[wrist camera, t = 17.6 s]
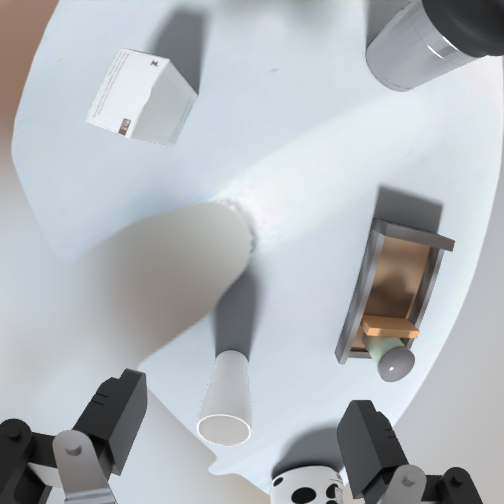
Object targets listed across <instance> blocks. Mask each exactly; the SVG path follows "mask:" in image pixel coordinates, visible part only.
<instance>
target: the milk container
mask: <svg viewBox="0 0 504 504" xmlns="http://www.w3.org/2000/svg"><path fill="white" fill-rule="evenodd" d="M270 500H271V502H272V504H343V481H342V478H341V476H340V474H339V473H338V472H337V471H336V470H335V469H333V468H332V467H328V466H323V465H308V466H301V467H297V468H294V469H290V470H287V471H285V472H283V473H281V474H279V475H278V476H277V477H276V478H275V479H274V480H273V481H272V483H271V486H270Z"/></svg>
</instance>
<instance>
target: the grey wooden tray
mask: <svg viewBox="0 0 504 504" xmlns="http://www.w3.org/2000/svg"><path fill="white" fill-rule="evenodd" d="M454 243H455V241H454V240H452V239H449V238H447V237H444V236H441V235H439V234H436V233H432V232H428V231H425V230H421V229H417V228H413V227H409V226H405V225H401V224H397V223H393V222H389V221H385V220H380V219H376V218H373V221H372V225H371V230H370V234H369V239H368V243H367V247H366V251H365V255H364V259H363V263H362V267H361V270H360V274H359V278H358V281H357V285H356V289H355V292H354V295H353V299H352V302H351V305H350V309H349V312H348V315H347V318H346V321H345V324H344V328H343V331H342V334H341V337H340V339H339V342H338V345H337V348H336V351H335V355H336V358H337V360H338V362H339V364H345V363H346V360H347V358H348V357H349V358H368V359H372V357H371V356H370V354H369V352H368V351H367V349H366V347H365V346H364V344H363V342H362V336H363V333H364V330H363V329H362V327H361V326H360V322H361V319H362V316H363V315H371V316H381V317H391V318H402V319H408V320H409V321H410V322H411V323H412V324H413V325H414V326H415V327H416V328H417V329H419V326H420V324H421V321H422V319H423V316H424V313H425V311H426V308H427V305H428V302H429V299H430V296H431V293H432V290H433V287H434V284H435V281H436V278H437V275H438V271H439V268H440V265H441V261H442V257H443V254H444V250H448V251H453V247H454ZM398 338H399V339H400V340H401V342H402V343H403V344H404V345H405V347H407V348H409V349H410V348H411V346H412V343H413V341H414V339H415V338H403V337H398Z"/></svg>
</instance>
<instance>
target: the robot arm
mask: <svg viewBox="0 0 504 504" xmlns="http://www.w3.org/2000/svg"><path fill="white" fill-rule="evenodd" d="M486 55H490V56H502V55H504V0H412V1H411V2H410V3H409V4H408V5H407V6H406V7H405V8H402V9H400V10H399V11H398V13H397V14H396V15H395V16H394V17H393V18H392V19H391V20H390V21H389V22H388V23H387V24H386V25H385V26H384V27H383V28H382V29H381V30H380V31H379V33H378V34H377V35H376V38H375V39H374V40H373V41H372V42H371V43H370V45H369V46H368V48H367V51H366V60H367V64H368V66H369V69H370V70H371V72H372V74H373V75H374V76H375V77H376V79H378V80H379V81H380V82H381V83H382V84H383V85H385V86H386V87H388V88H390V89H392V90H396V91H409V90H411V89H413V88H415V87H417V86H419V85H421V84H424V83H426V82H428V81H430V80H432V79H434V78H436V77H438V76H441V75H443V74H445V73H447V72H449V71H452V70H454V69H456V68H458V67H461V66H463V65H465V64H467V63H470V62H472V61H474V60H477V59H479V58H481V57H484V56H486ZM146 409H147V386H146V374H145V373H142V372H139V371H134V370H131V369H125V370H124V372H123V373H122V375H121V377H120V378H119V379H116V378H113V377H111V378H110V379H108V380H106V381H105V382H103V383H102V384H101V385H100V387H99V388H98V390H97V392H96V394H95V395H94V396H93V398H92V399H91V402H89V404H88V405H87V407H86V408H85V410H84V411H83V413H82V415H81V416H80V418H79V419H78V421H77V423H76V424H75V426H74V427H73V429H72V430H66V431H63V432H60V433H59V434H58V435H56V436H50V435H45V434H40V433H35V432H32V431H31V430H30V427H29V426H28V425H27V424H26V423H25V422H23V421H21V420H19V419H8V420H5V421H4V422H2V423H1V424H0V504H46V501H47V499H48V496H49V494H50V492H51V490H52V487H59V488H63V489H64V492H65V496H66V499H65V504H118V503H117V501H116V499H115V497H114V495H113V493H112V490H111V488H110V486H109V484H108V480H109V477H110V475H111V473H113V474H116V475H119V476H120V475H121V472H122V470H123V467H124V465H125V462H126V460H127V457H128V455H129V452H130V450H131V447H132V445H133V442H134V440H135V437H136V435H137V432H138V430H139V428H140V425H141V423H142V420H143V418H144V415H145V413H146ZM337 439H338V443H339V446H340V450H341V454H342V457H343V461H344V465H345V468H346V472H347V476H348V480H349V484H350V488H351V491H352V495H353V499H360V498H364V500H365V503H364V504H483V503H482V500H481V498H480V496H479V494H478V492H477V489H476V487H475V485H474V483H473V481H472V479H471V477H470V475H469V474H468V472H467V471H466V470H464V469H462V468H459V467H453V468H450V469H449V470H447V471H446V472H445V473H444V474H443V475H425V473H424V472H423V471H422V469H420V468H419V467H417V466H414V465H409V463H408V461H407V459H406V457H405V454H404V452H403V450H402V448H401V445H400V443H399V441H398V439H397V438H396V435H395V433H394V431H393V430H392V426H391V424H390V422H389V420H388V419H387V418H386V417H385V416H384V415H383V414H382V413H381V412H380V411H379V412H376V410H375V407H374V405H373V403H372V402H371V401H370V400H352V401H351V402H350V404H349V406H348V408H347V410H346V412H345V414H344V415H343V417H342V419H341V421H340V423H339V425H338V429H337Z"/></svg>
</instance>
